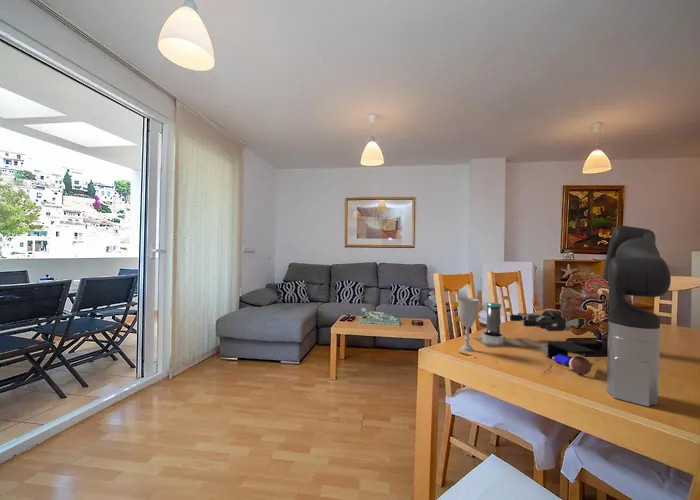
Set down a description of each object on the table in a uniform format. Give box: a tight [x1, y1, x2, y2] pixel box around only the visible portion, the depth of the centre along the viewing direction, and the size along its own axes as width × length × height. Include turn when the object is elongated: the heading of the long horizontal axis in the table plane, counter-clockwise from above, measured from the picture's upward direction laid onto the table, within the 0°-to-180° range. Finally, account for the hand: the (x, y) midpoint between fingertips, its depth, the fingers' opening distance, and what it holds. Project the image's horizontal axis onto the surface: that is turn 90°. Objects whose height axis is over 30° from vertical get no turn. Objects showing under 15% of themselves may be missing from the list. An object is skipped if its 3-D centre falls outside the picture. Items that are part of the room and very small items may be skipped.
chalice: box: [456, 297, 480, 357], centre depth 105 cm, size 7×7×18 cm
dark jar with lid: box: [486, 302, 502, 336], centre depth 114 cm, size 5×5×14 cm
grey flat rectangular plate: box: [472, 337, 543, 349], centre depth 115 cm, size 22×12×1 cm, turn 93°
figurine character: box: [540, 340, 596, 376], centre depth 94 cm, size 7×8×15 cm
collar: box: [480, 330, 506, 346], centre depth 114 cm, size 8×8×3 cm
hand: (517, 320), depth 115 cm, fingers open, 8 cm apart
